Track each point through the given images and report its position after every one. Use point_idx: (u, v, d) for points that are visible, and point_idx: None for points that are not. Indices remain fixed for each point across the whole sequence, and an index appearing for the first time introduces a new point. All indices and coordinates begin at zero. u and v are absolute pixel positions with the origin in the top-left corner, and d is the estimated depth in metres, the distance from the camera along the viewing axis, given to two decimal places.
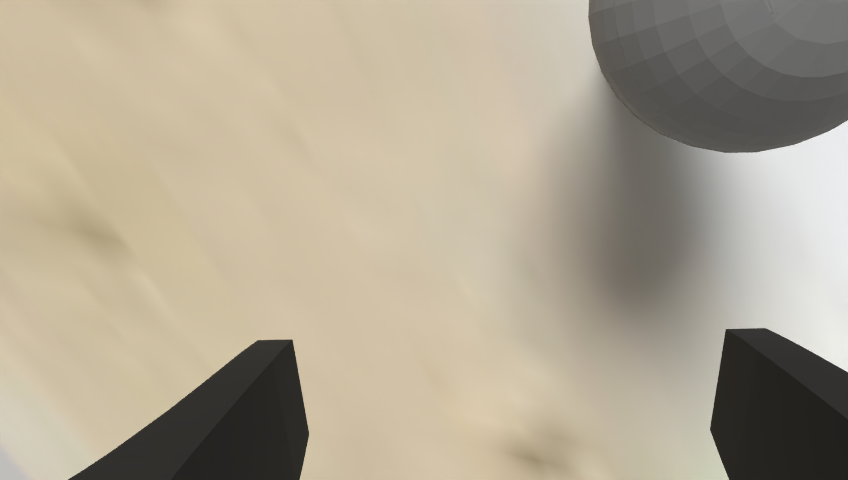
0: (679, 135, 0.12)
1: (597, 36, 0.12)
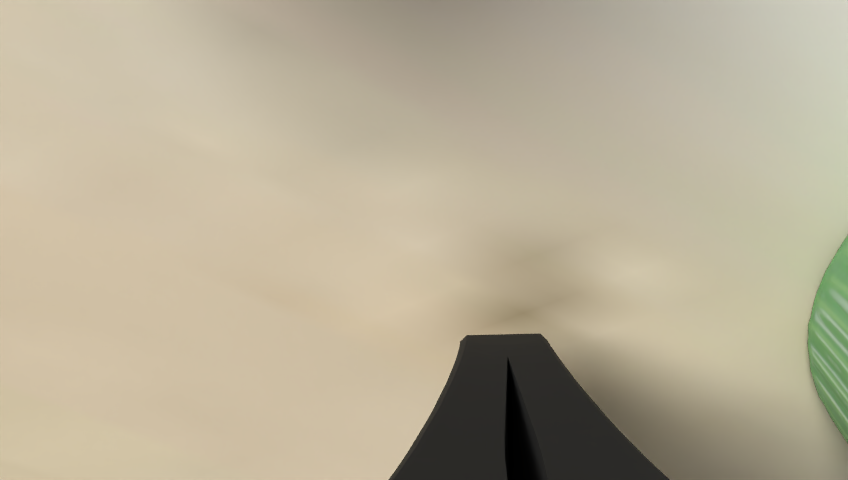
0: None
1: None
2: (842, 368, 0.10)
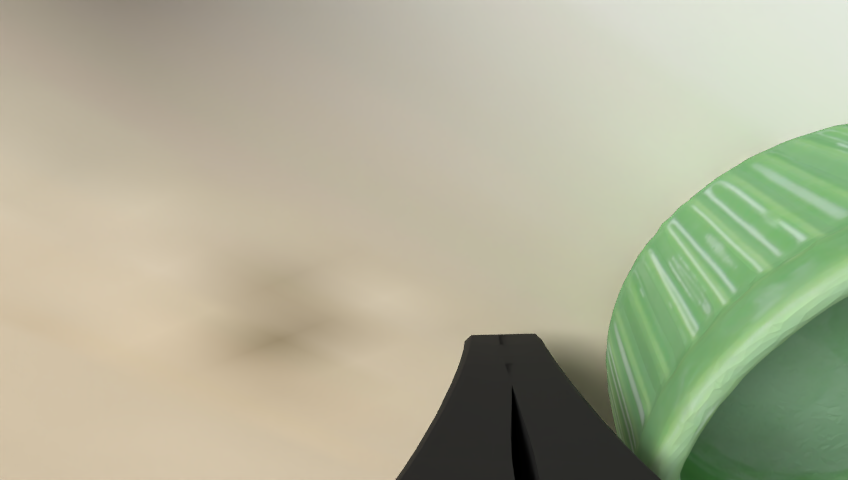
0: None
1: None
2: (615, 408, 0.10)
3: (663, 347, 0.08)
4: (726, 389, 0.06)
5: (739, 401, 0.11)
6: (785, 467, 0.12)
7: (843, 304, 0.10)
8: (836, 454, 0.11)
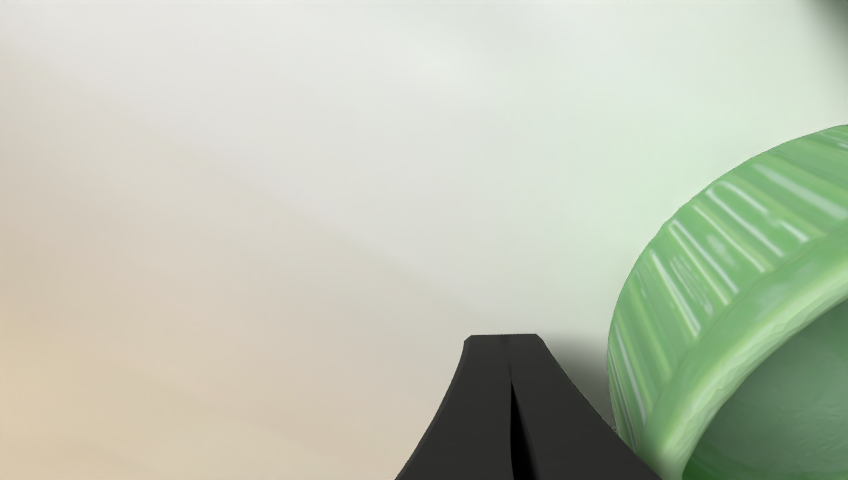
0: None
1: None
2: (616, 408, 0.10)
3: (665, 347, 0.08)
4: (729, 390, 0.06)
5: (741, 401, 0.11)
6: (785, 467, 0.12)
7: (843, 304, 0.10)
8: (836, 454, 0.11)
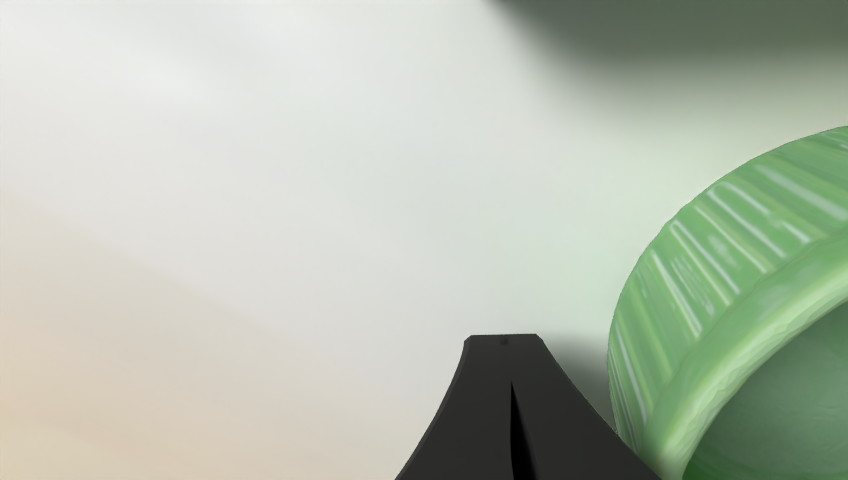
0: None
1: None
2: (616, 408, 0.10)
3: (666, 348, 0.08)
4: (730, 390, 0.06)
5: (740, 401, 0.11)
6: (785, 468, 0.12)
7: (844, 305, 0.10)
8: (836, 455, 0.11)
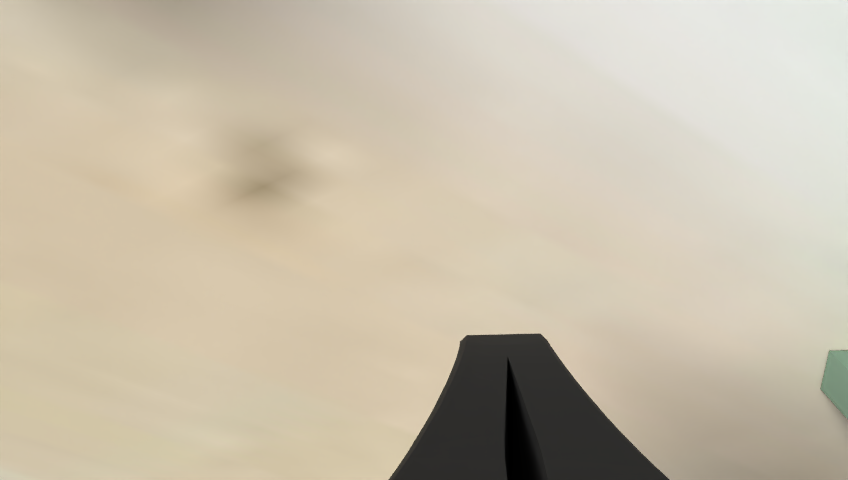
0: None
1: None
2: None
3: None
4: None
5: None
6: None
7: None
8: None
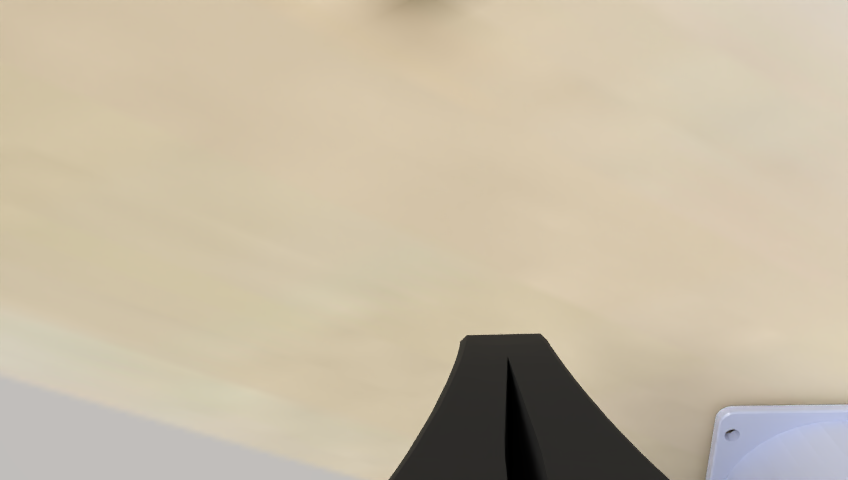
0: None
1: None
2: None
3: None
4: None
5: None
6: None
7: None
8: None
